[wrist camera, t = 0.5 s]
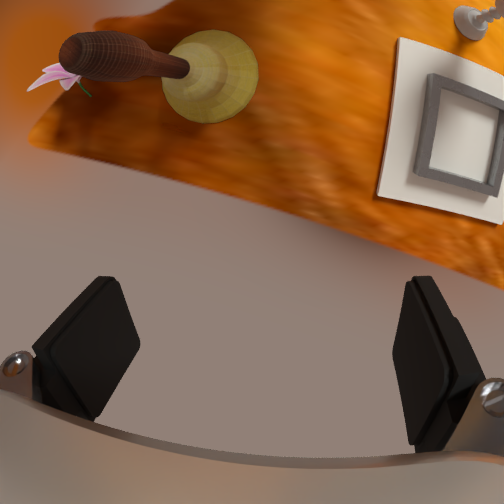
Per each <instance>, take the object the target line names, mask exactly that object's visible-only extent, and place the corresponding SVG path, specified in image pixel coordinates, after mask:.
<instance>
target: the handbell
mask: <svg viewBox="0 0 504 504" xmlns="http://www.w3.org/2000/svg"><path fill="white" fill-rule="evenodd" d="M59 62H60V65H61V66H62V67H63V69H64V70H65V71H67V72H69V73H72V74H76V75H79V76H82V77H85V78H87V79H91V80H94V81H110V82H127V81H131V80H135V79H137V78H139V77H141V76H144V75H147V76H156V77H161V79H162V89H163V92H164V94H165V97H166V99H167V102H168V103H169V104H170V105H171V107H172V108H173V109H174V110H175V111H176V113H178V114H180V115H181V116H183V117H184V118H186V119H188V120H190V121H195V122H199V123H203V124H204V123H218V122H221V121H223V120H226V119H228V118H231V117H233V116H234V115H236V114H237V113H238V112H240V111H241V110H242V109H243V108H245V107H246V105H247V104H248V102H249V101H250V99H251V98H252V96H253V95H254V93H255V89H256V86H257V83H258V63H257V61H256V58H255V56H254V54H253V51H252V49H251V48H250V47H249V46H248V45H247V44H246V43H245V42H244V41H243V40H242V39H241V38H239V37H237V36H235V35H233V34H232V33H230V32H226V31H220V30H214V29H213V30H206V31H199V32H196V33H194V34H192V35H190V36H188V37H186V38H184V39H183V40H182V41H181V42H179V43H178V44H177V45H176V46H175V47H174V48H173V49H172V51H171V52H170V53H169V54H166V53H162V52H159V51H155V50H152V49H151V48H150V47H149V46H148V45H147V44H146V42H145V41H143V40H142V39H139V38H137V37H135V36H132V35H129V34H125V33H120V32H116V31H95V32H85V33H77V34H74V35H72V36H71V37H69V38H68V39H67V40H65V42H64V43H63V44H62V46H61V49H60V52H59Z"/></svg>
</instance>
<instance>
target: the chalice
mask: <svg viewBox="0 0 504 504" xmlns="http://www.w3.org/2000/svg"><path fill="white" fill-rule="evenodd" d="M495 6H496V8H495V7H490V9H489V11H488V10H486V9H483V10H482V12H480V11H479V10H478V9H476V8H472V7H468V6H459V7H457V8H456V9H455V11H454V21H455V24H456V26H457V28H458V29H459V31H460V32H461V33H462V34H463V35H464V36H466V37H467V38H469V39H472V40H480V39H482V38H483V37H484V35H485V33H486V31H487V28H488V23H487V22H490V23H491V22H493V20H494V19H493V18H495V19H500V17H501V16H502V17H503V18H504V0H496V1H495Z"/></svg>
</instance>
